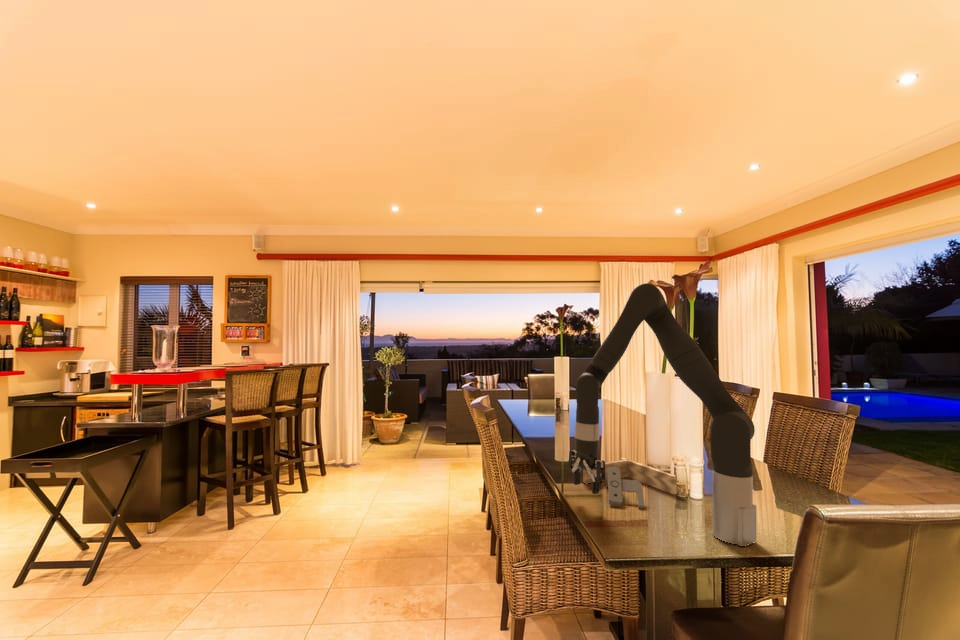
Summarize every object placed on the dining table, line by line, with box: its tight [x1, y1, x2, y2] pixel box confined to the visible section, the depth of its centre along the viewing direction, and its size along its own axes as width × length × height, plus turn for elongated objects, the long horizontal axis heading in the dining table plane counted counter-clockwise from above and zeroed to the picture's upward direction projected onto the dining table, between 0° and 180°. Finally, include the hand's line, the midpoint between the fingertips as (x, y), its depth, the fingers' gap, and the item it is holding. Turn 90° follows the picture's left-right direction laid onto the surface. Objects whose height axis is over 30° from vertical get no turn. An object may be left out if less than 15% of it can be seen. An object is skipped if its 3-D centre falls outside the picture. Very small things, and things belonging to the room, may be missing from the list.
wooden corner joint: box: [582, 457, 677, 495], centre depth 152 cm, size 24×22×6 cm
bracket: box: [605, 467, 646, 510], centre depth 142 cm, size 10×14×10 cm
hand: (585, 488), depth 136 cm, fingers open, 8 cm apart
